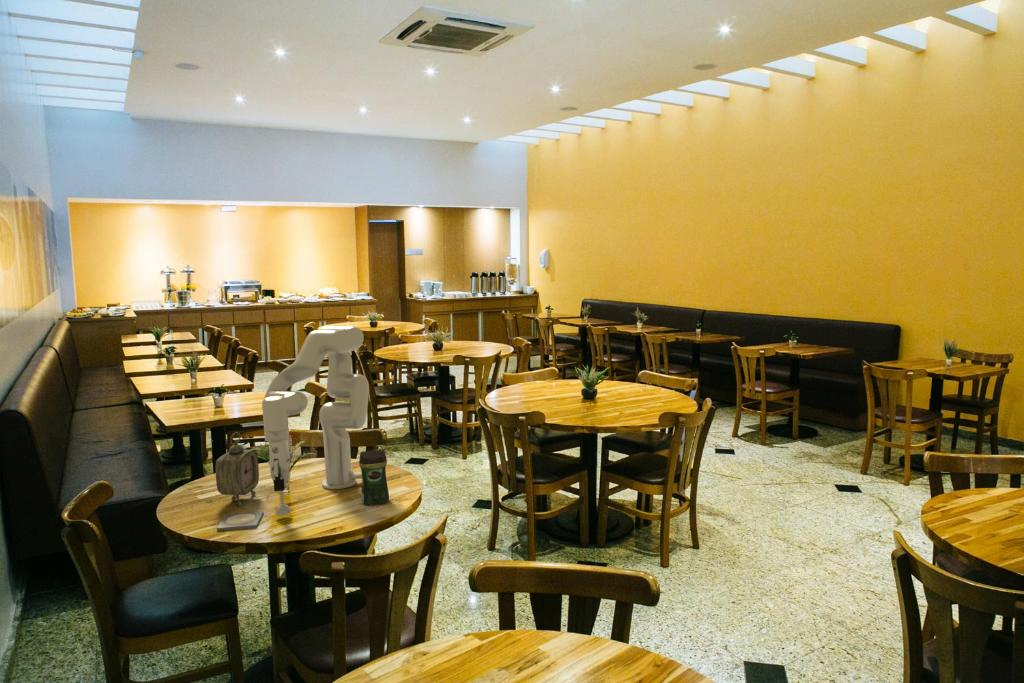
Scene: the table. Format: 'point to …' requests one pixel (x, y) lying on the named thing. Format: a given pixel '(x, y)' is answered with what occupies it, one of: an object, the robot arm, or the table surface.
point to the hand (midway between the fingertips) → (281, 486)
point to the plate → (240, 520)
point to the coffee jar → (373, 477)
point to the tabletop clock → (237, 471)
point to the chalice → (282, 493)
